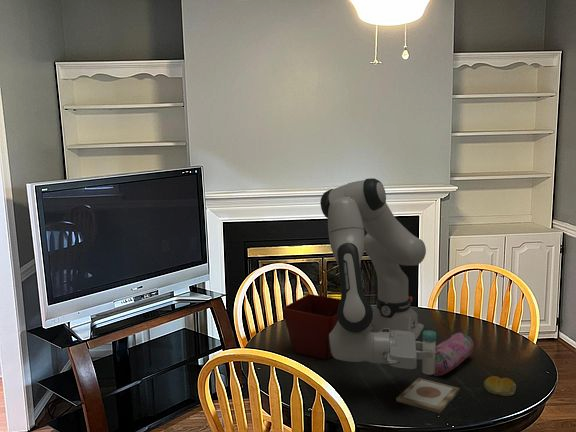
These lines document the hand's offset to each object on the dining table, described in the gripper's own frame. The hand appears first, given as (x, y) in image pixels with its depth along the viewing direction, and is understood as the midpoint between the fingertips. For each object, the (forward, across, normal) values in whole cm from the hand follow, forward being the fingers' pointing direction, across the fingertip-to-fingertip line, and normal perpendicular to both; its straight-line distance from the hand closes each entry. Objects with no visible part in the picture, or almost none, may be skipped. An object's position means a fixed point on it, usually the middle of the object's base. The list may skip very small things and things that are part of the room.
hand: (432, 350), depth 175 cm
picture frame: (-1, 0, +14) cm, 14 cm away
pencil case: (+7, +23, +14) cm, 28 cm away
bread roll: (+21, +7, +14) cm, 26 cm away
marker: (-1, 0, +6) cm, 7 cm away
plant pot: (-36, +30, +14) cm, 49 cm away
